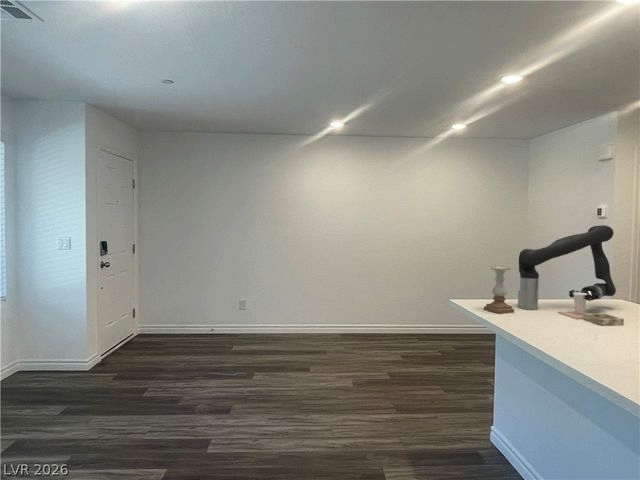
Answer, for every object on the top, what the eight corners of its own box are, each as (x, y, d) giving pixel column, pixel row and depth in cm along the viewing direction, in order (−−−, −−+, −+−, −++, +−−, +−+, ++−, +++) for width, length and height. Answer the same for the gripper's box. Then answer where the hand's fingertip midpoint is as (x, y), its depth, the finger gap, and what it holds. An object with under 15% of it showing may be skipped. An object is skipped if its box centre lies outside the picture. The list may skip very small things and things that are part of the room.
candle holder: (499, 308, 227) (500, 266, 226) (514, 312, 217) (515, 268, 216) (483, 309, 224) (484, 266, 223) (498, 314, 213) (499, 268, 212)
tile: (576, 319, 202) (576, 317, 202) (557, 313, 216) (557, 311, 216) (602, 318, 204) (602, 317, 204) (581, 312, 218) (581, 311, 218)
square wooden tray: (601, 325, 190) (601, 319, 190) (583, 319, 201) (583, 313, 201) (623, 325, 191) (623, 319, 191) (604, 319, 203) (604, 313, 202)
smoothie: (585, 311, 212) (585, 284, 211) (588, 313, 206) (589, 286, 205) (570, 310, 214) (571, 284, 214) (574, 313, 208) (574, 285, 207)
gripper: (577, 284, 224) (563, 287, 214) (607, 287, 212) (594, 291, 202) (576, 297, 224) (562, 301, 214) (607, 301, 212) (593, 305, 203)
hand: (578, 296), depth 208 cm, fingers closed on smoothie, 6 cm apart
